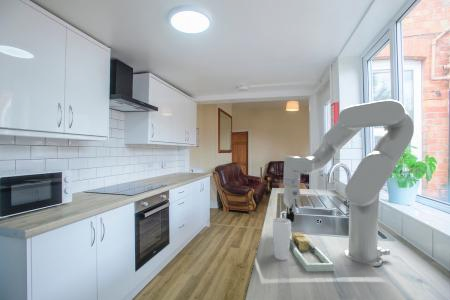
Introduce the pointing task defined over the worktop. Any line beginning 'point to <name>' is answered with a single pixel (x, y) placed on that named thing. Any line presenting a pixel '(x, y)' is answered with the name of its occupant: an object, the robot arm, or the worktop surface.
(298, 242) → the tan cube
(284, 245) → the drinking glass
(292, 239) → the gold cube
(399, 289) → the worktop surface
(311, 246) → the slot board
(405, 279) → the worktop surface
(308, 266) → the tray
